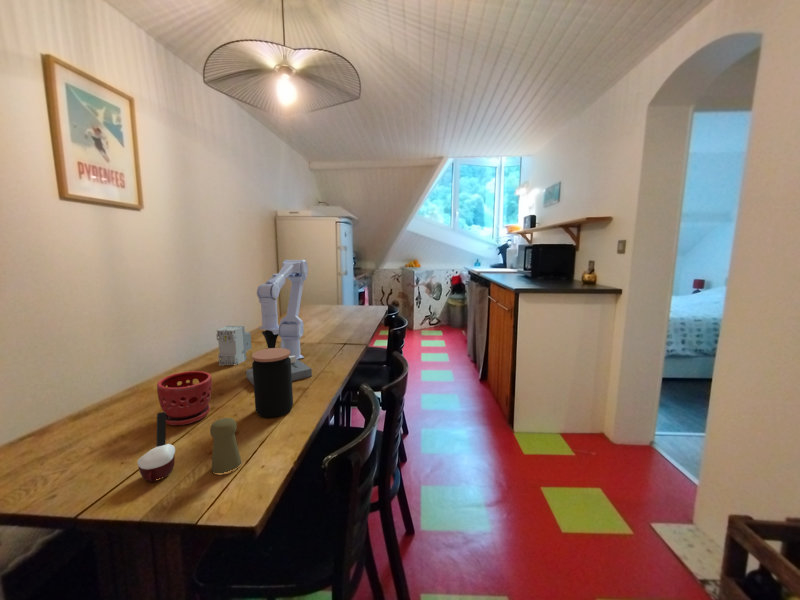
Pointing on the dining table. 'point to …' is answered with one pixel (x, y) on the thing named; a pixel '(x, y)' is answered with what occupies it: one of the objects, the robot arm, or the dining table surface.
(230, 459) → the cork
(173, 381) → the plant pot
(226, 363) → the circuit breaker
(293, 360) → the paddle
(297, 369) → the grey slider panel
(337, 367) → the dining table surface
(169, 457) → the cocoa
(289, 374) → the coffee jar
